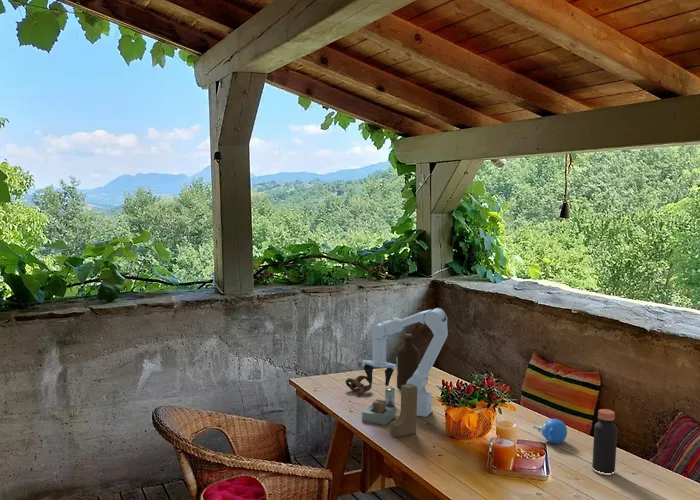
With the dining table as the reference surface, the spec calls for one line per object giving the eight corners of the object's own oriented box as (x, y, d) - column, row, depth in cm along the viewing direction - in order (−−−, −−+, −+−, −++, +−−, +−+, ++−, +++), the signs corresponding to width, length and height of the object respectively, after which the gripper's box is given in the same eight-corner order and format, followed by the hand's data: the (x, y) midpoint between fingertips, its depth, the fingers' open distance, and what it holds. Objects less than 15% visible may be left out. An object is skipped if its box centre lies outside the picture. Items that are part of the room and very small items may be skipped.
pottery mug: (368, 388, 280) (373, 375, 276) (367, 403, 272) (373, 390, 268) (343, 382, 279) (348, 369, 275) (342, 396, 271) (347, 384, 266)
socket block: (394, 416, 242) (395, 408, 242) (385, 425, 233) (385, 416, 233) (372, 412, 246) (372, 404, 246) (362, 420, 237) (362, 412, 237)
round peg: (395, 404, 257) (396, 388, 256) (392, 407, 253) (392, 391, 253) (387, 403, 259) (387, 387, 258) (383, 405, 255) (383, 389, 254)
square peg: (385, 418, 241) (385, 401, 240) (381, 421, 237) (381, 404, 237) (376, 416, 242) (376, 399, 242) (372, 419, 239) (372, 402, 238)
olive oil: (420, 385, 284) (422, 333, 282) (415, 391, 274) (416, 337, 272) (399, 382, 288) (400, 331, 286) (392, 389, 278) (394, 335, 276)
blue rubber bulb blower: (536, 432, 228) (536, 410, 227) (569, 438, 222) (570, 416, 222) (529, 443, 217) (530, 420, 217) (563, 450, 212) (564, 427, 211)
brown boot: (396, 438, 221) (397, 389, 219) (389, 433, 224) (390, 386, 223) (416, 433, 225) (417, 386, 224) (409, 429, 229) (410, 383, 227)
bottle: (595, 465, 200) (598, 406, 199) (617, 471, 196) (620, 411, 194) (589, 471, 195) (592, 411, 193) (611, 478, 191) (614, 416, 189)
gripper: (359, 352, 252) (359, 384, 254) (391, 356, 246) (391, 389, 247) (366, 348, 259) (365, 379, 260) (398, 352, 253) (397, 384, 254)
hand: (378, 384), depth 254 cm, fingers open, 7 cm apart
